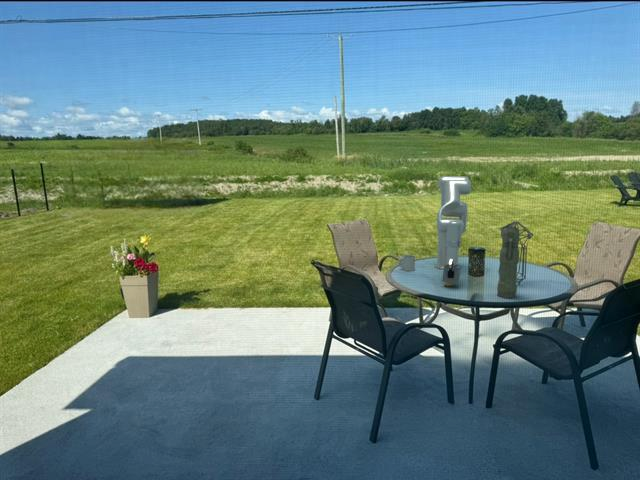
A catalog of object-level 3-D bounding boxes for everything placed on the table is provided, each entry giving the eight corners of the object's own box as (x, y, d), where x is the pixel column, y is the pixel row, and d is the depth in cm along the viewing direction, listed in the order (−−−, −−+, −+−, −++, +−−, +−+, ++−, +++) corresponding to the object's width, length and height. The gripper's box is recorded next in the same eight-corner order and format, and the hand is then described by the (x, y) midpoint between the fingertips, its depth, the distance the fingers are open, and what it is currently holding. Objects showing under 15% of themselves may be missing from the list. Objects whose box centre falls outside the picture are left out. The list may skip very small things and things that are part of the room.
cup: (413, 271, 277) (414, 257, 275) (397, 270, 279) (398, 256, 278) (415, 269, 283) (415, 255, 282) (399, 268, 286) (399, 254, 285)
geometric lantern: (523, 281, 256) (529, 220, 249) (528, 289, 241) (535, 224, 234) (494, 278, 260) (499, 218, 253) (496, 286, 245) (502, 223, 238)
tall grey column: (498, 298, 223) (503, 228, 217) (495, 292, 234) (500, 225, 228) (517, 300, 221) (523, 229, 214) (514, 293, 232) (519, 226, 226)
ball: (455, 277, 246) (453, 285, 247) (445, 274, 247) (444, 283, 249) (453, 279, 241) (452, 288, 242) (444, 277, 243) (442, 286, 244)
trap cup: (444, 277, 249) (447, 262, 247) (459, 280, 246) (461, 265, 244) (442, 281, 242) (444, 265, 240) (456, 284, 239) (459, 268, 237)
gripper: (449, 241, 250) (447, 272, 253) (443, 246, 234) (441, 279, 237) (463, 242, 247) (461, 273, 249) (458, 247, 231) (456, 280, 234)
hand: (452, 276), depth 243 cm, fingers closed on trap cup, 7 cm apart
